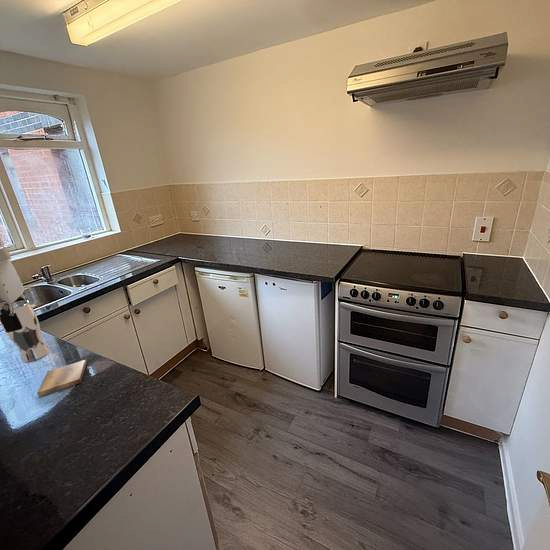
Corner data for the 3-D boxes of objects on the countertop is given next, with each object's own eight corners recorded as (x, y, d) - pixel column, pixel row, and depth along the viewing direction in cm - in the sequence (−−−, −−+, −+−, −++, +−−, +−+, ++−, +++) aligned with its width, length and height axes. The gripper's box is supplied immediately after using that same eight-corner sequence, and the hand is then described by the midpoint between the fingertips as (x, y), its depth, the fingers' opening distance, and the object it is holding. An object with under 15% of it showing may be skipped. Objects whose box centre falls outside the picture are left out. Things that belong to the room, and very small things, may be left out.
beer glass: (35, 364, 76) (9, 312, 71) (14, 363, 77) (-13, 313, 72) (58, 348, 82) (36, 299, 77) (38, 347, 84) (15, 300, 78)
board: (39, 396, 88) (37, 392, 87) (49, 374, 97) (47, 371, 97) (81, 382, 91) (79, 378, 91) (86, 363, 101) (85, 359, 100)
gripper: (-14, 252, 76) (16, 313, 83) (-54, 272, 61) (-14, 345, 67) (21, 246, 79) (48, 306, 85) (-9, 263, 63) (26, 335, 70)
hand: (20, 322), depth 76 cm, fingers closed on beer glass, 7 cm apart
